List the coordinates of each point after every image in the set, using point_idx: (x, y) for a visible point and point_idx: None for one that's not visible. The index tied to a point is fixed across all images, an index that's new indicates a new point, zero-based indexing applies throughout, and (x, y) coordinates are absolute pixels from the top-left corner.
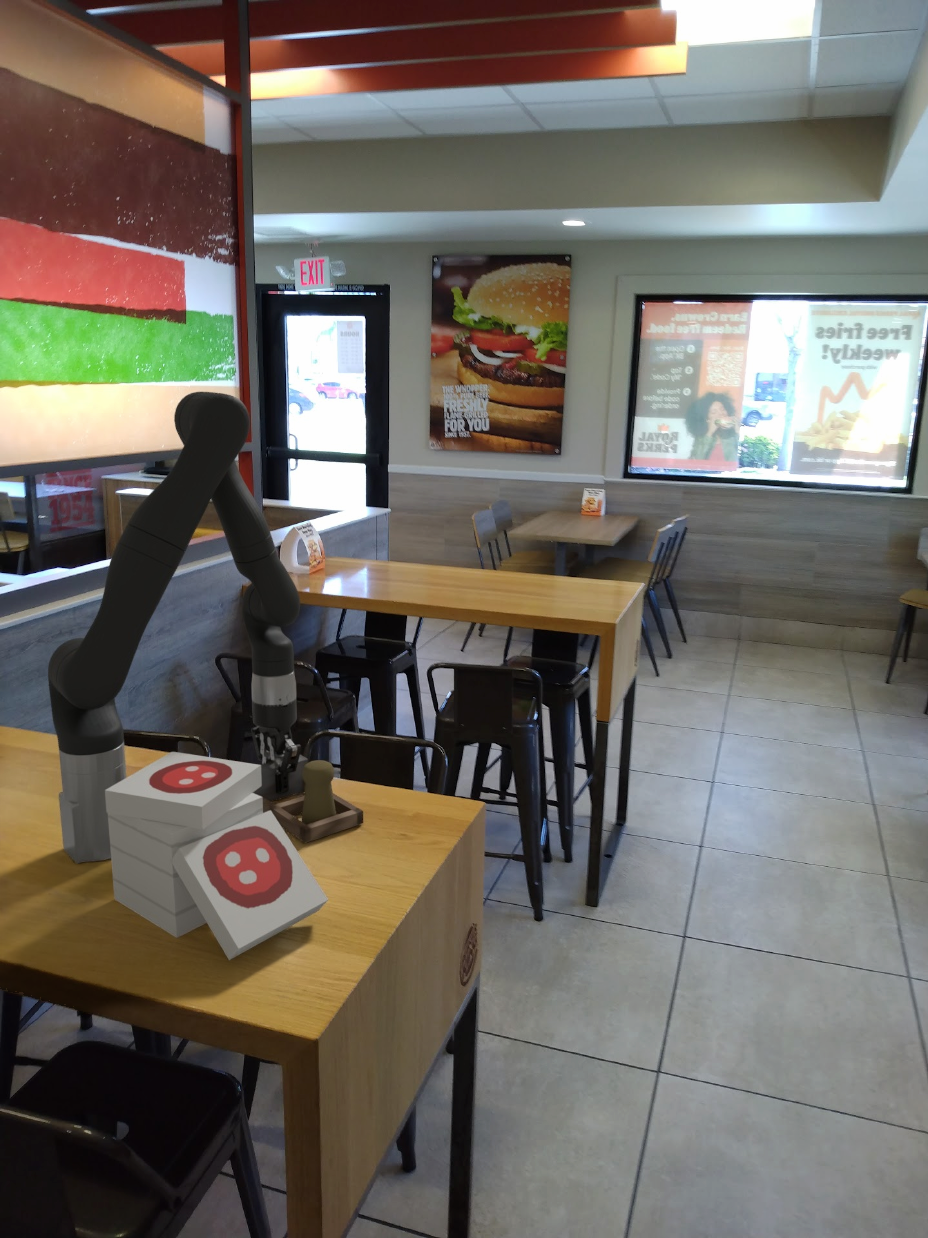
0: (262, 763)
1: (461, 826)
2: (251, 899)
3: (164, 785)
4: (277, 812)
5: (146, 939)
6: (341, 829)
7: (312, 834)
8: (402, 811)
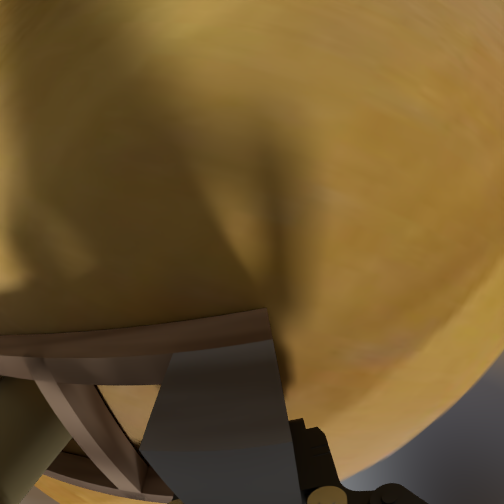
0: (334, 498)
1: (46, 493)
2: None
3: None
4: (8, 355)
5: None
6: None
7: None
8: (91, 498)
